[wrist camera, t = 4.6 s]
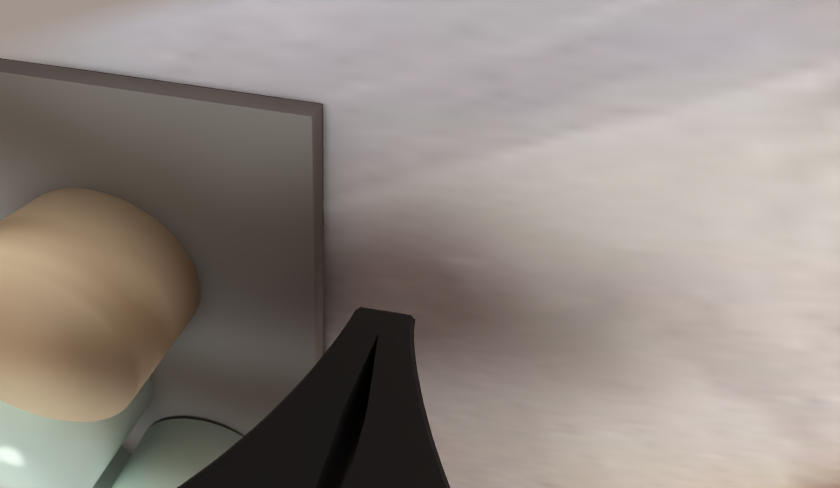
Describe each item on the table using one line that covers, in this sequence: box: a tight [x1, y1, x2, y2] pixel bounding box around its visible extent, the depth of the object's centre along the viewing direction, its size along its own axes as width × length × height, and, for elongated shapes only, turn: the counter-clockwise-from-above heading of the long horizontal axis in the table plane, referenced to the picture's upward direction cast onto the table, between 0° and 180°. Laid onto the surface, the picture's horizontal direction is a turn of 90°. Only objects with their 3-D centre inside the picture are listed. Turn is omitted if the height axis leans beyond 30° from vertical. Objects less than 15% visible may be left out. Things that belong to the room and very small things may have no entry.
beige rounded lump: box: [0, 188, 201, 422], centre depth 12 cm, size 5×5×3 cm
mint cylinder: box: [0, 377, 153, 488], centre depth 15 cm, size 4×4×4 cm
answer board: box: [0, 58, 324, 455], centre depth 16 cm, size 16×19×1 cm
